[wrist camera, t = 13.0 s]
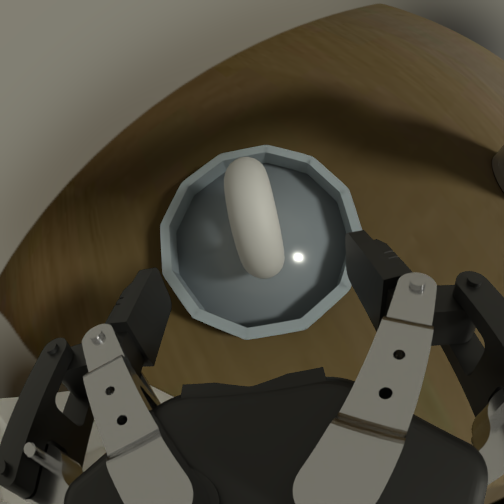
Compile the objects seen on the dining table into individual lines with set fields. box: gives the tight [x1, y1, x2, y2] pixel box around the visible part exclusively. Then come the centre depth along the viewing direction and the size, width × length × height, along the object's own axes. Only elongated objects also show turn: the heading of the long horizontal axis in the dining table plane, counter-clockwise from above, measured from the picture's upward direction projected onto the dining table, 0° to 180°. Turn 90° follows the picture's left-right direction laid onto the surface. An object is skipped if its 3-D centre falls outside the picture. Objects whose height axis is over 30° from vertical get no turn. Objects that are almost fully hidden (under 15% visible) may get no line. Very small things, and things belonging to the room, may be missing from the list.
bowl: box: [160, 145, 362, 340], centre depth 27 cm, size 19×19×3 cm
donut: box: [224, 157, 285, 279], centre depth 22 cm, size 10×4×10 cm, turn 10°
